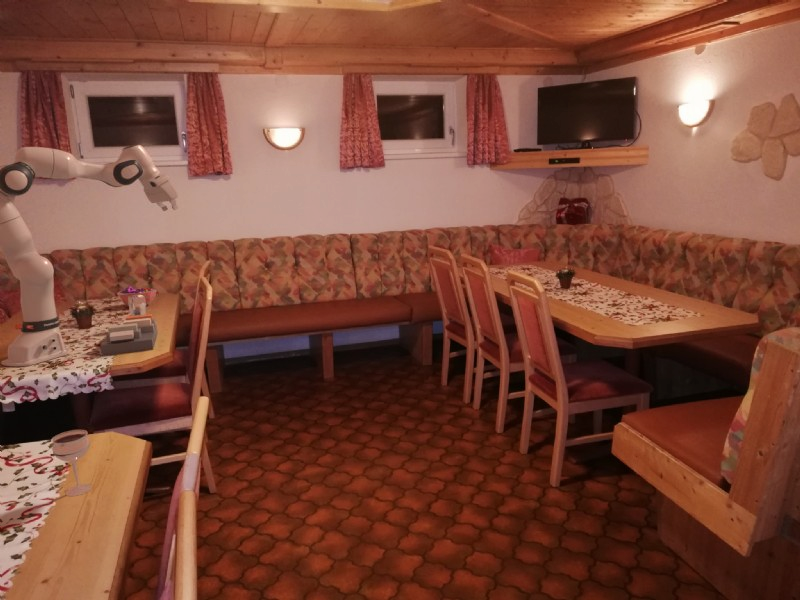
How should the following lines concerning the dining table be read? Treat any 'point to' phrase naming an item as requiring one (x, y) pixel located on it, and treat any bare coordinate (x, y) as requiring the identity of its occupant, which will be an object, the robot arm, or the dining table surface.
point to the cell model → (129, 291)
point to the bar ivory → (139, 322)
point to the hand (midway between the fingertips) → (170, 209)
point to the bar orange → (139, 317)
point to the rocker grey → (121, 335)
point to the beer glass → (137, 305)
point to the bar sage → (123, 328)
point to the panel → (132, 341)
